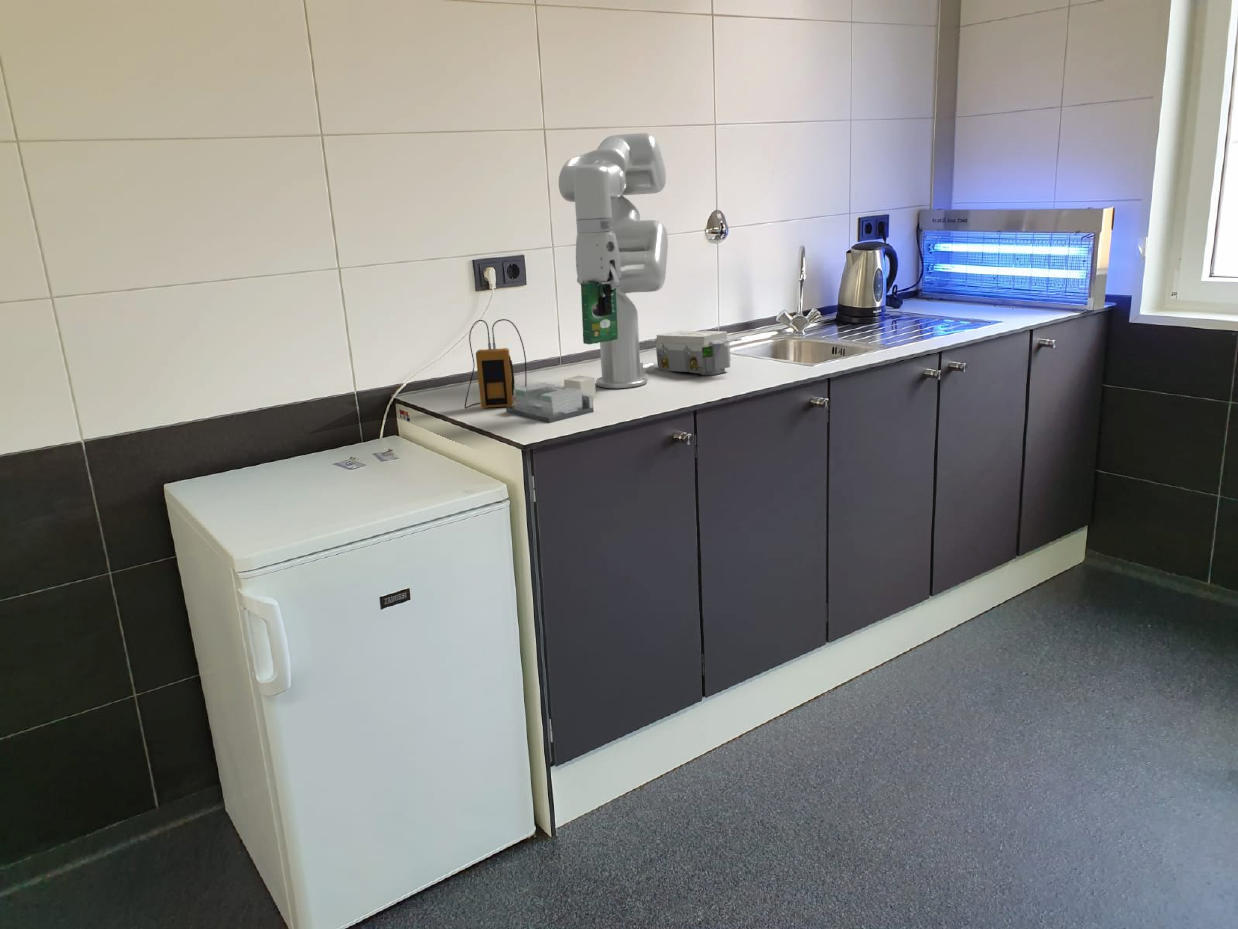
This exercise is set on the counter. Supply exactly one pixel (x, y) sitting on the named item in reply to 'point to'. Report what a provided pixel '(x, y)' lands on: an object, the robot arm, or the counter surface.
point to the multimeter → (495, 374)
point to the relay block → (582, 384)
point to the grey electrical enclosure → (693, 351)
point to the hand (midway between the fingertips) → (600, 313)
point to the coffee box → (597, 316)
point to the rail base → (550, 402)
